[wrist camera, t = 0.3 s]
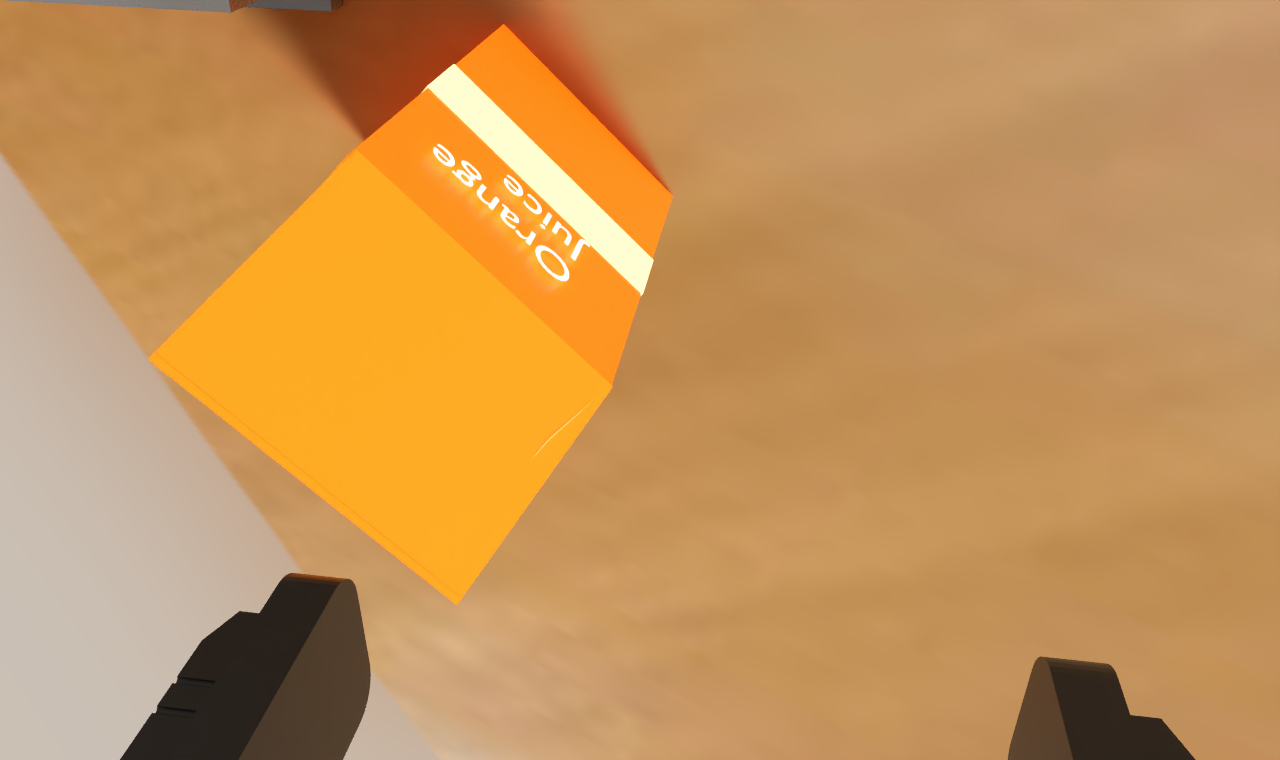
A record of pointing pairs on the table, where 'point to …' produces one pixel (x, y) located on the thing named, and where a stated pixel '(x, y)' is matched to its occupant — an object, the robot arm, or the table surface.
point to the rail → (210, 4)
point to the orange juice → (438, 312)
